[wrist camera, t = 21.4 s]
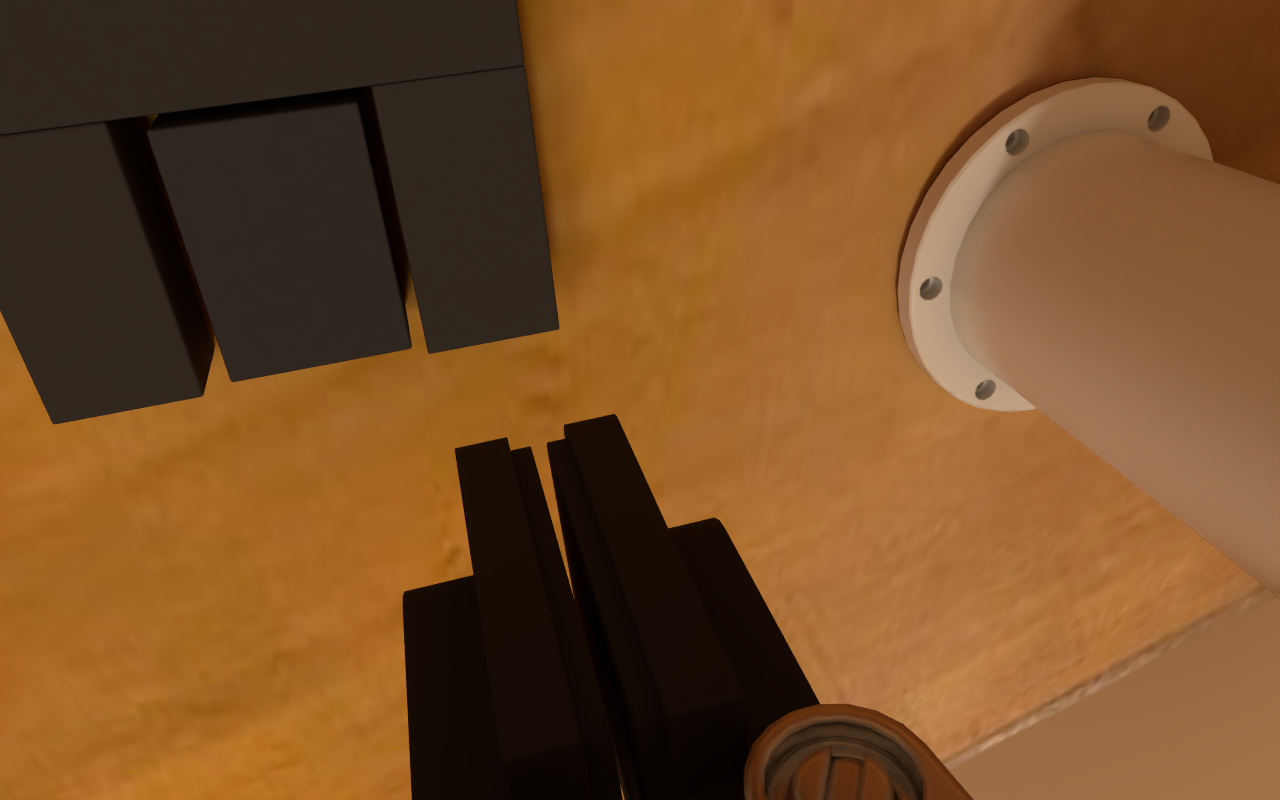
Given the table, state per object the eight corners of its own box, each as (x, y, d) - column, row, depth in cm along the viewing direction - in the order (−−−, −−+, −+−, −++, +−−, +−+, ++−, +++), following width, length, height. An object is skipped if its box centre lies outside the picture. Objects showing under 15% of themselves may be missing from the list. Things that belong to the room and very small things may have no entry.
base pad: (483, -131, 25) (499, -130, 22) (541, 291, 31) (560, 330, 28) (-118, -76, 22) (-177, -68, 20) (77, 375, 28) (52, 426, 26)
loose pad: (355, 79, 26) (357, 102, 24) (405, 308, 30) (412, 349, 27) (163, 103, 25) (145, 131, 23) (240, 337, 29) (230, 383, 26)
